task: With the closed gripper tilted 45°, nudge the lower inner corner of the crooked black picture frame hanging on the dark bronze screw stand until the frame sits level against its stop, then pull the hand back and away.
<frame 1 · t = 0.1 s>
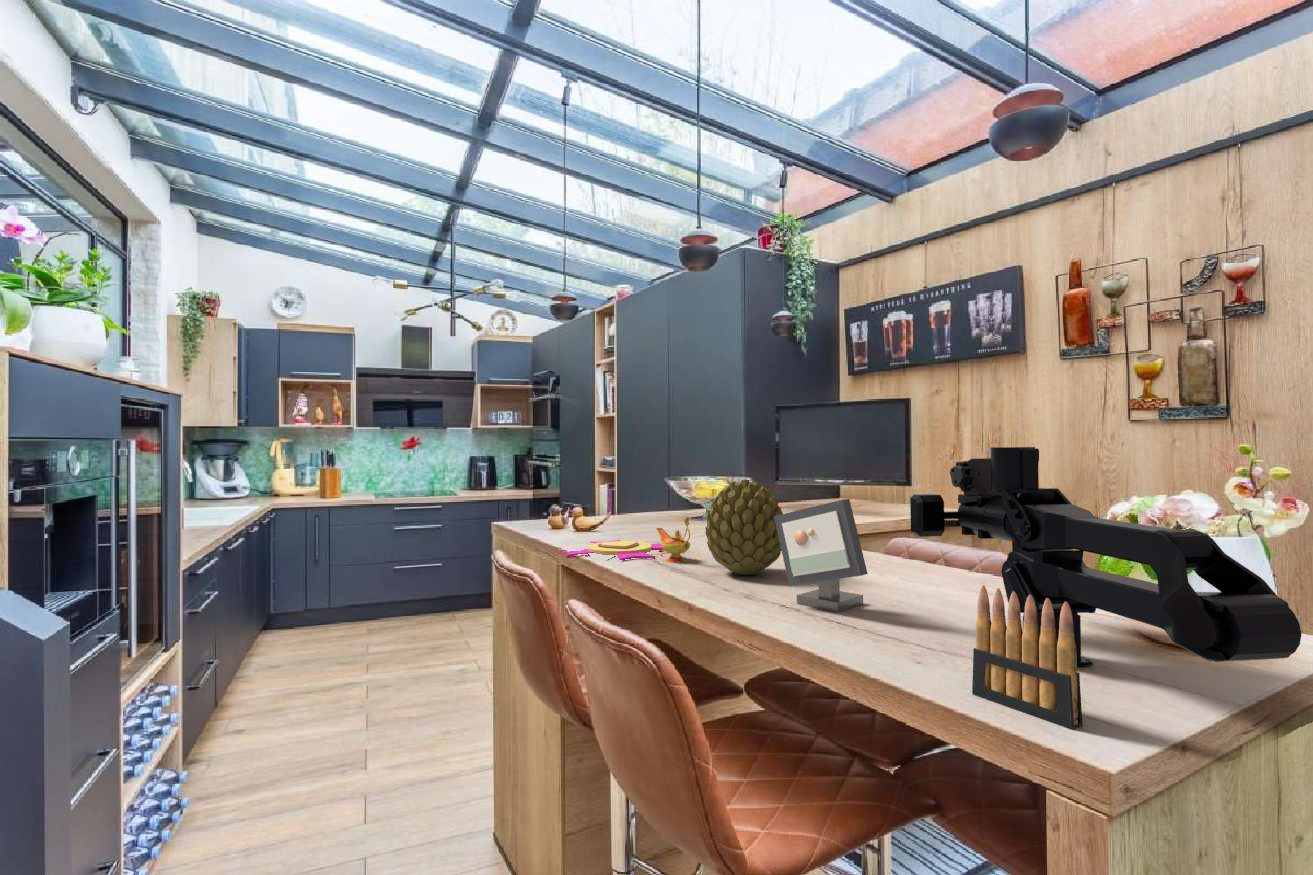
hand: (942, 509, 110), 17 cm above the counter, tool horizontal, fingers open, 9 cm apart
picture frame: (817, 543, 110), point 11 cm above the counter, hinge at 15.0°
picture stand: (816, 610, 110), on the counter
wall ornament: (619, 553, 174), on the counter
magic lamp: (672, 560, 160), on the counter
ammunition clip: (1024, 711, 69), on the counter
decorative object: (745, 575, 141), on the counter
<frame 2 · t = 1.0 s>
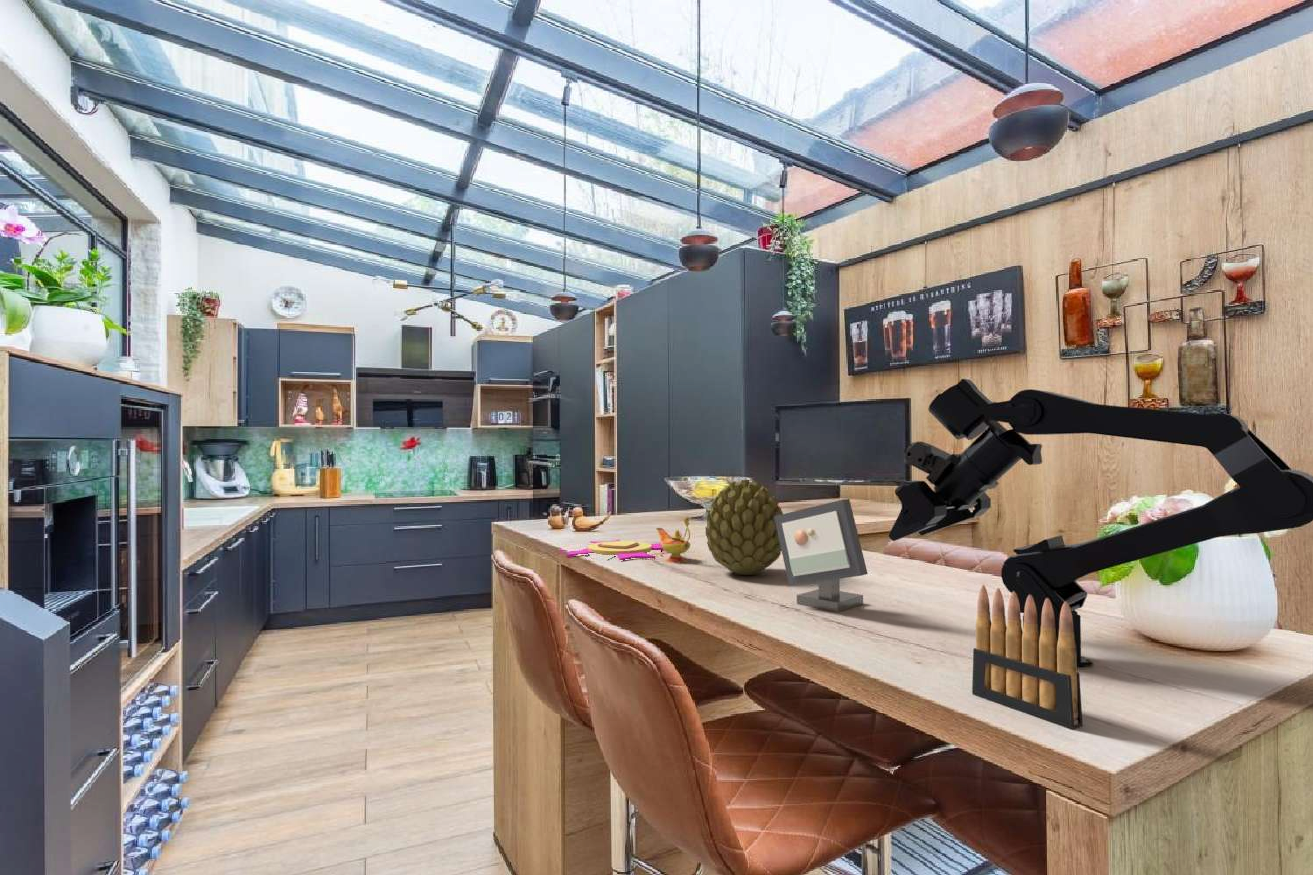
hand: (905, 535, 99), 14 cm above the counter, tool tilted 45°, fingers open, 8 cm apart
nothing on the counter moved.
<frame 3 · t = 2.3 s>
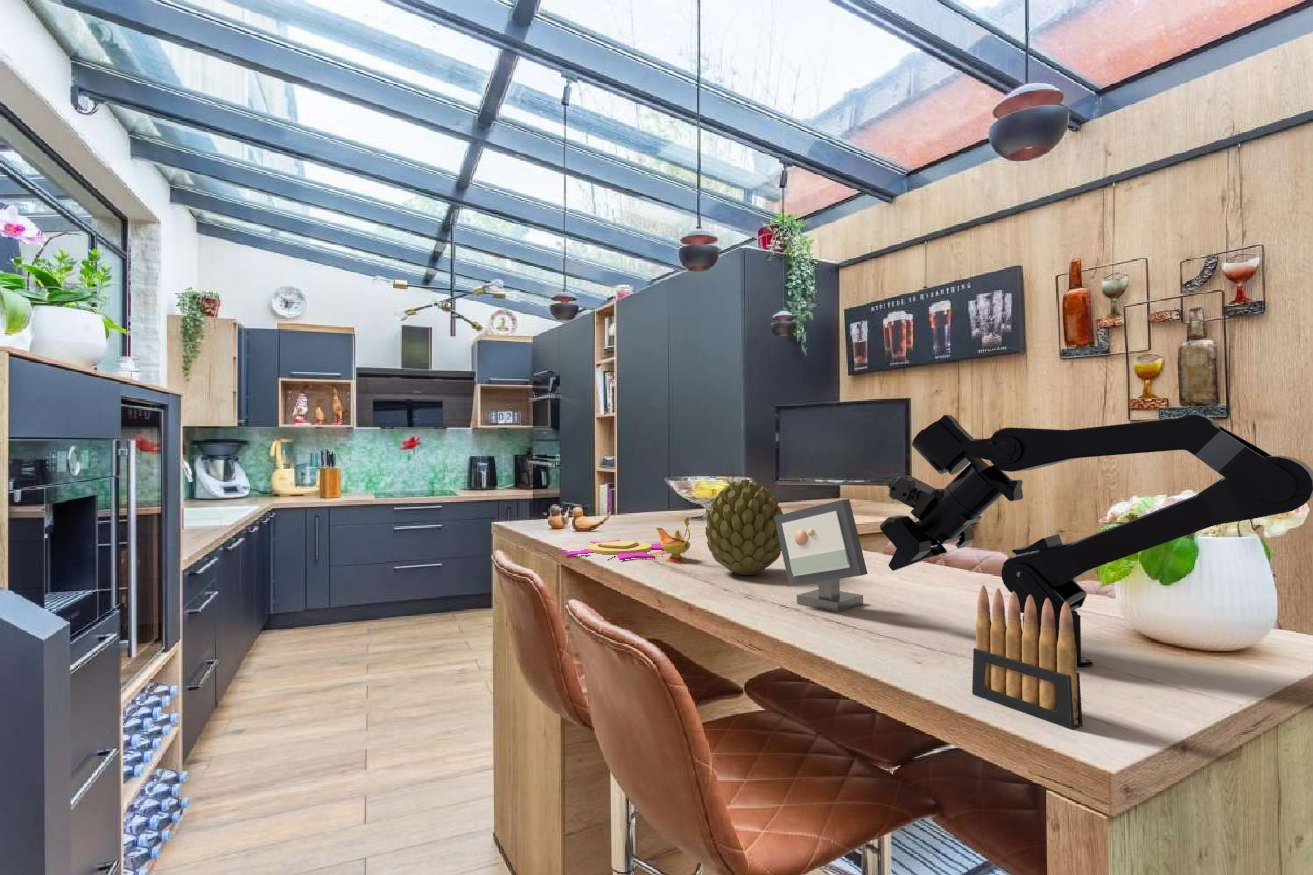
hand: (891, 567, 100), 9 cm above the counter, tool tilted 45°, fingers closed
nothing on the counter moved.
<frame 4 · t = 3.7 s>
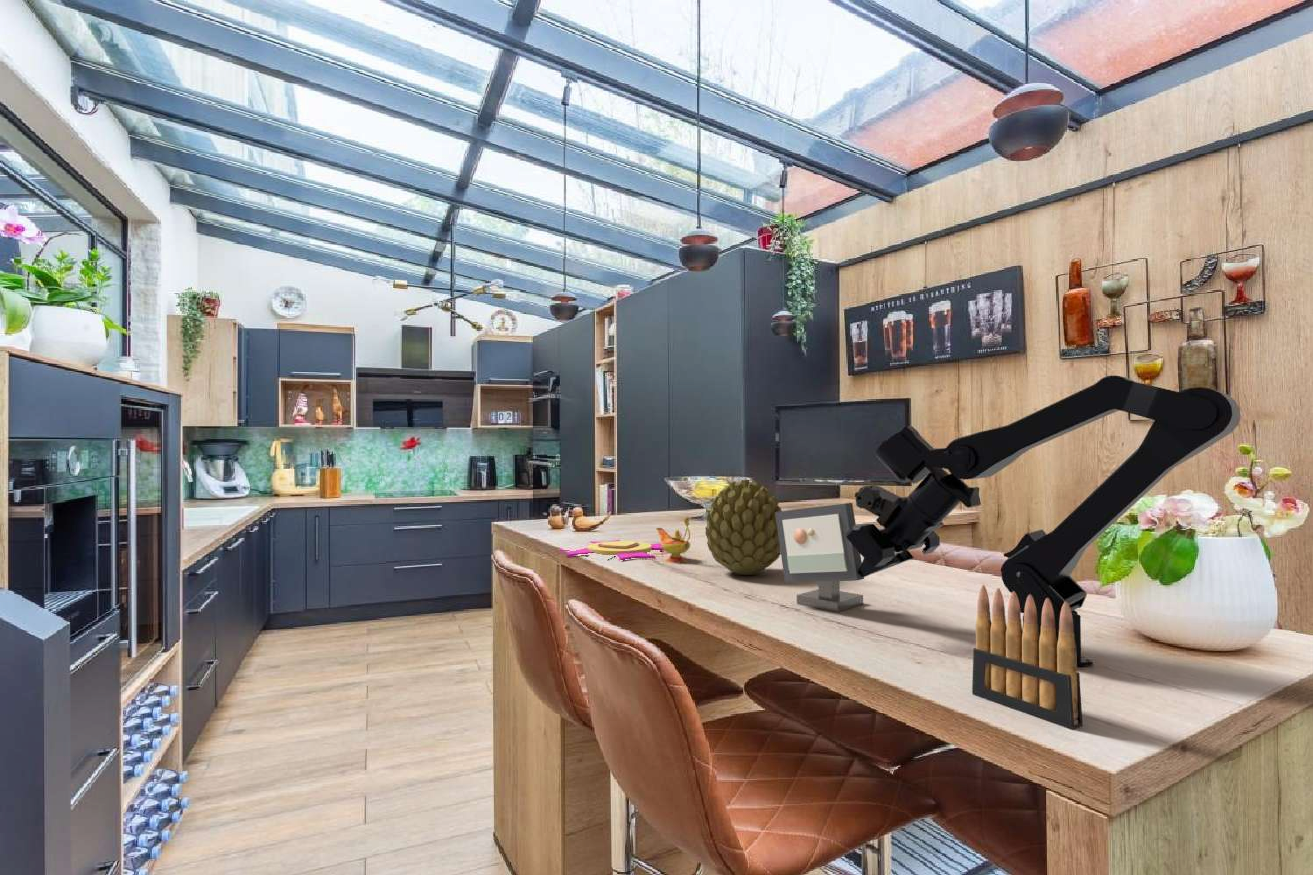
hand: (861, 574, 104), 7 cm above the counter, tool tilted 45°, fingers closed, pressing on picture frame
picture frame: (816, 543, 110), point 11 cm above the counter, hinge at 9.4°, touching gripper
everything else where it was.
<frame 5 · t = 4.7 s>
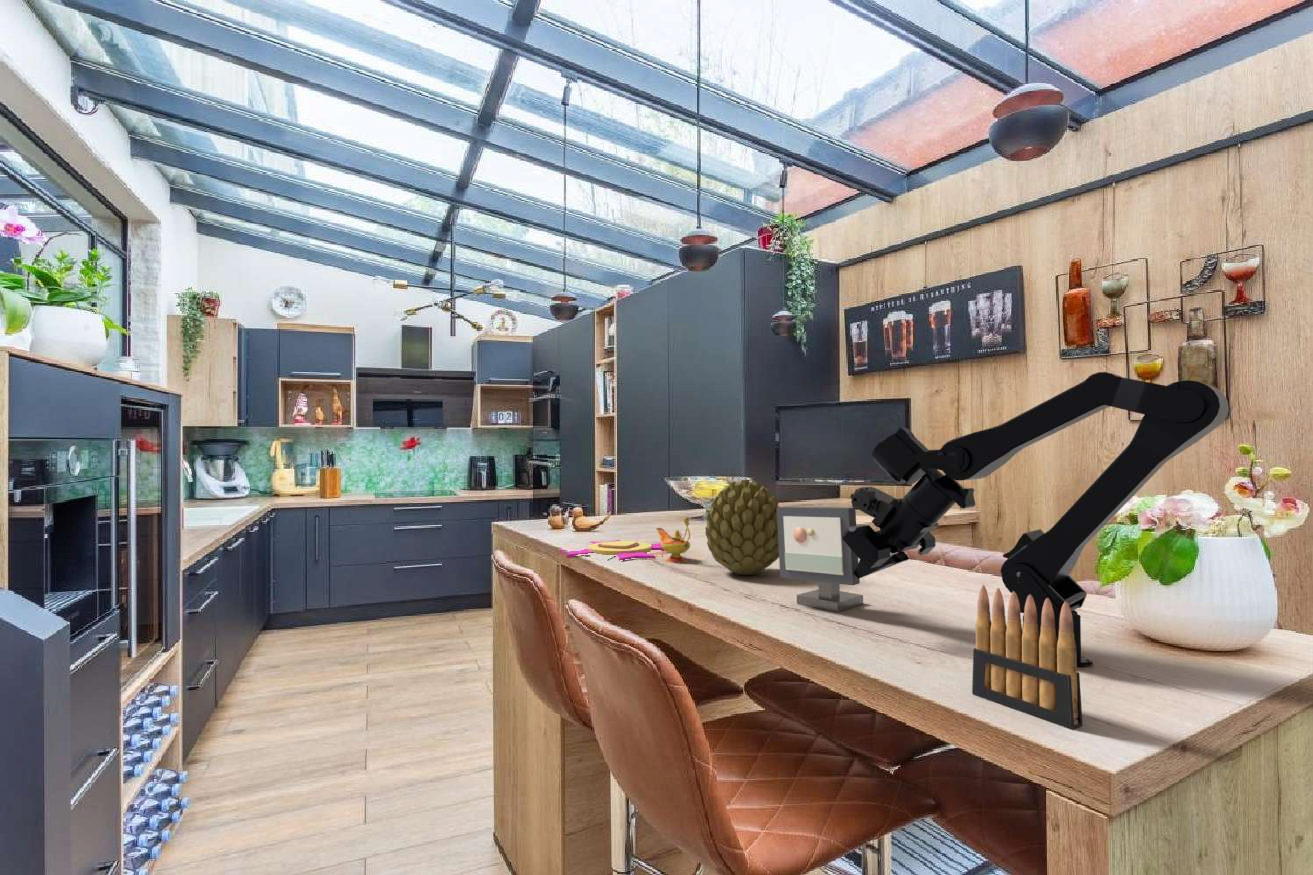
hand: (857, 575, 105), 7 cm above the counter, tool tilted 45°, fingers closed
picture frame: (815, 543, 110), point 11 cm above the counter, hinge at 2.9°
everything else where it was.
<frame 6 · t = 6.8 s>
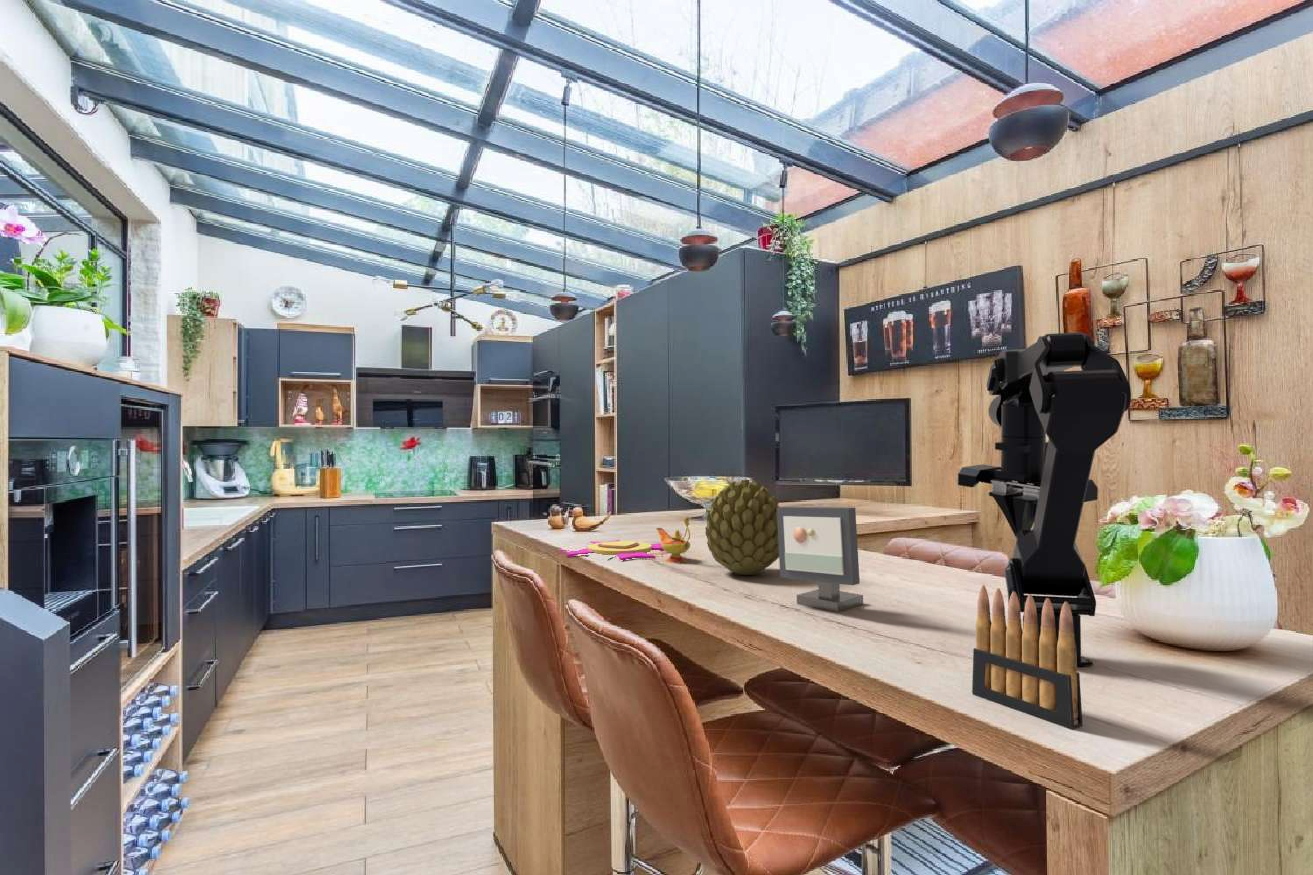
hand: (1021, 539, 99), 13 cm above the counter, tool pointing down, fingers closed
nothing on the counter moved.
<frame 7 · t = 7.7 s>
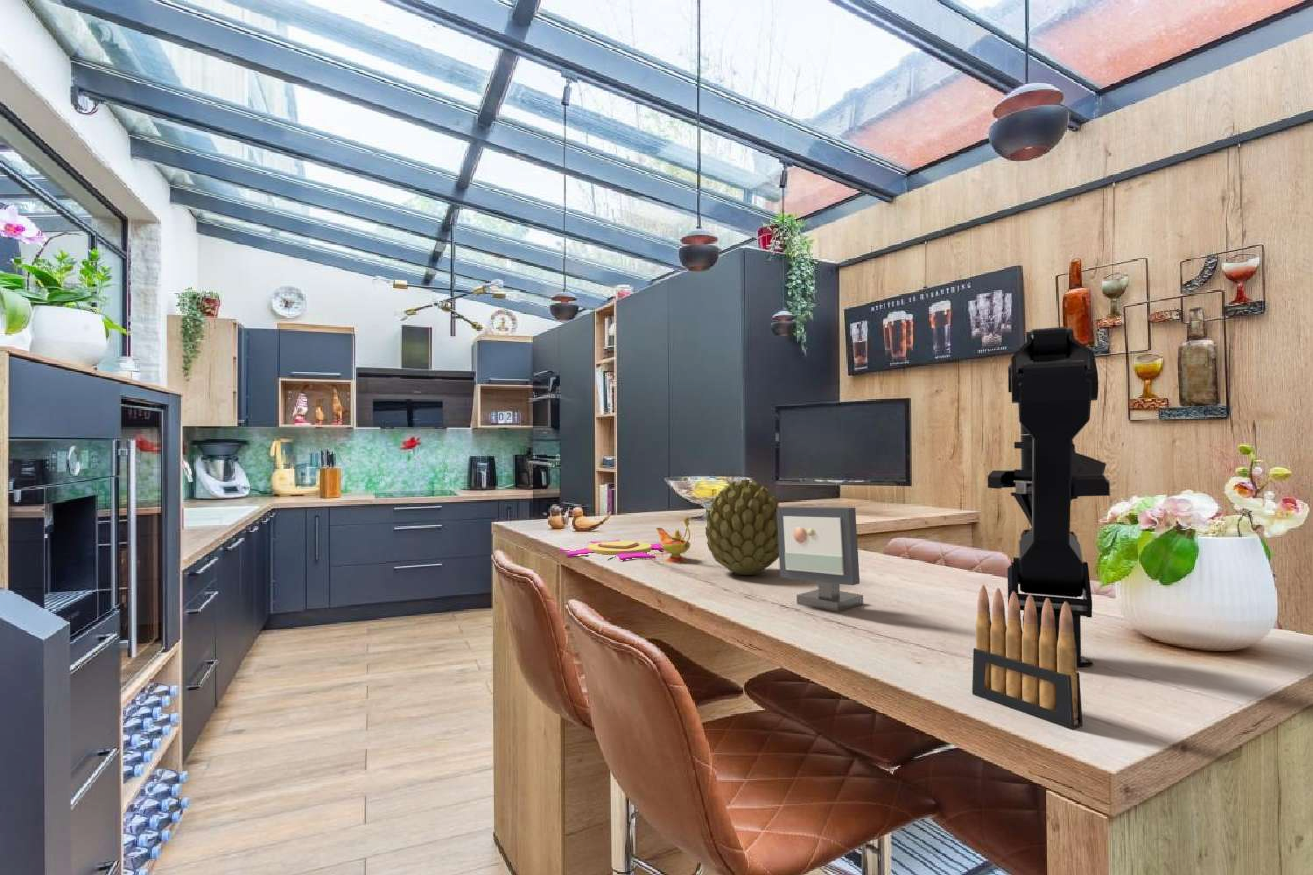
hand: (1044, 541, 97), 13 cm above the counter, tool pointing down, fingers closed
nothing on the counter moved.
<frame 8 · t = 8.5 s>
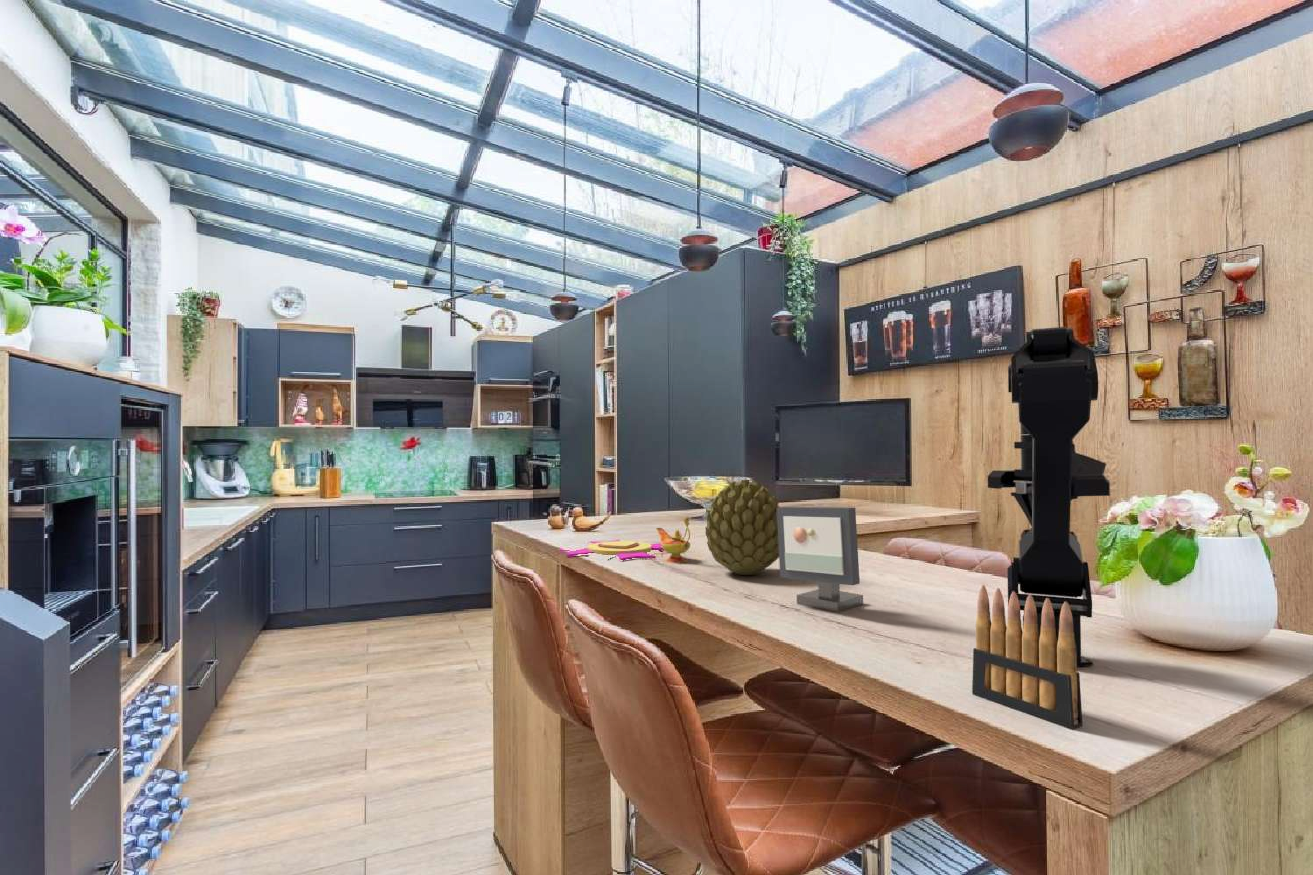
hand: (1044, 541, 97), 13 cm above the counter, tool pointing down, fingers closed
nothing on the counter moved.
at the end: picture frame at +3° (first picture: +15°) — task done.
